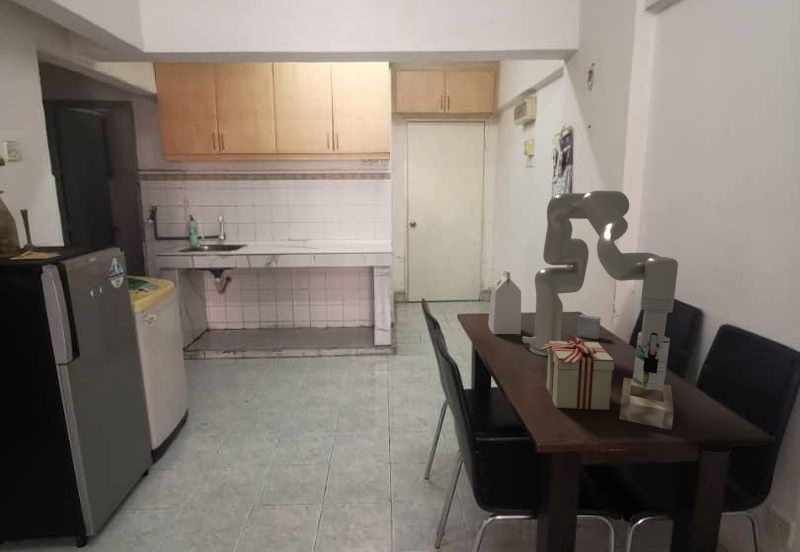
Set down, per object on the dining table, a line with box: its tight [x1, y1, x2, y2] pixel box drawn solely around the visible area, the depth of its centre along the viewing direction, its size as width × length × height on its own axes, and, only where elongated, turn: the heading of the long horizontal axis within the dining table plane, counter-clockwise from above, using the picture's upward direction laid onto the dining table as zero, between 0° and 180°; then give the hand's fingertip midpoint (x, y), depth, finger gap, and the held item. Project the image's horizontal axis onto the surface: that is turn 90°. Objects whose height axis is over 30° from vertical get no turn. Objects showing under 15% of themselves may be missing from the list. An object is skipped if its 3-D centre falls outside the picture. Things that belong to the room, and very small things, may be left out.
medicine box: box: [576, 314, 601, 340], centre depth 191 cm, size 8×4×9 cm, turn 57°
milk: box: [487, 269, 522, 335], centre depth 197 cm, size 12×12×26 cm
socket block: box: [619, 377, 675, 431], centre depth 127 cm, size 12×18×5 cm, turn 152°
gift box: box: [539, 335, 615, 411], centre depth 133 cm, size 17×18×17 cm
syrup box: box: [632, 331, 671, 390], centre depth 125 cm, size 6×6×14 cm
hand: (649, 366), depth 126 cm, fingers closed on syrup box, 7 cm apart
